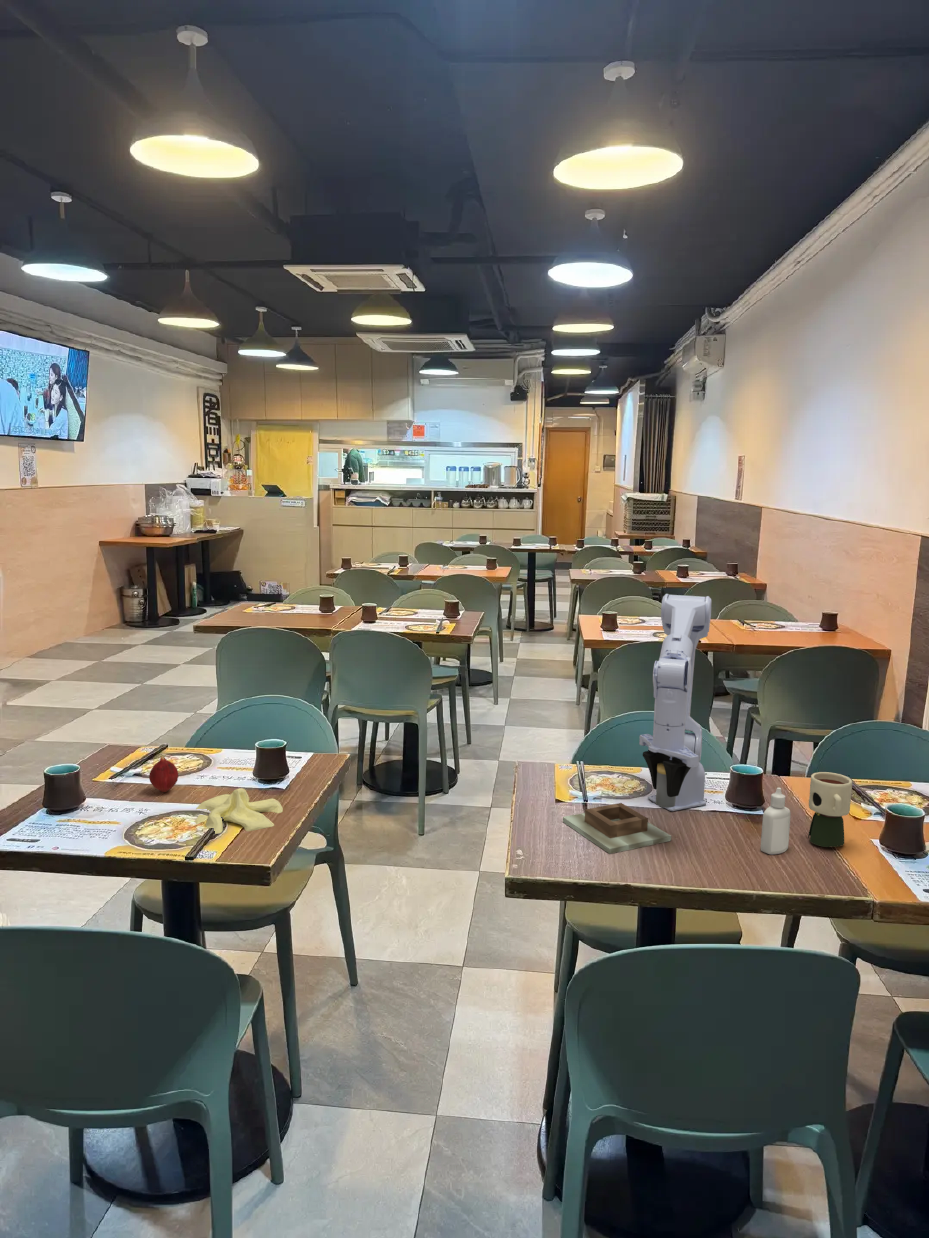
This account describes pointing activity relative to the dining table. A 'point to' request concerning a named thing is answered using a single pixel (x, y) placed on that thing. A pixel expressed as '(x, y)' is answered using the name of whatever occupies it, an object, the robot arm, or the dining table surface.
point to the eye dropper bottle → (776, 825)
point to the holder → (616, 828)
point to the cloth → (238, 811)
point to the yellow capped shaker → (663, 789)
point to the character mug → (829, 808)
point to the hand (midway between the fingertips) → (665, 792)
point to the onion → (163, 775)
